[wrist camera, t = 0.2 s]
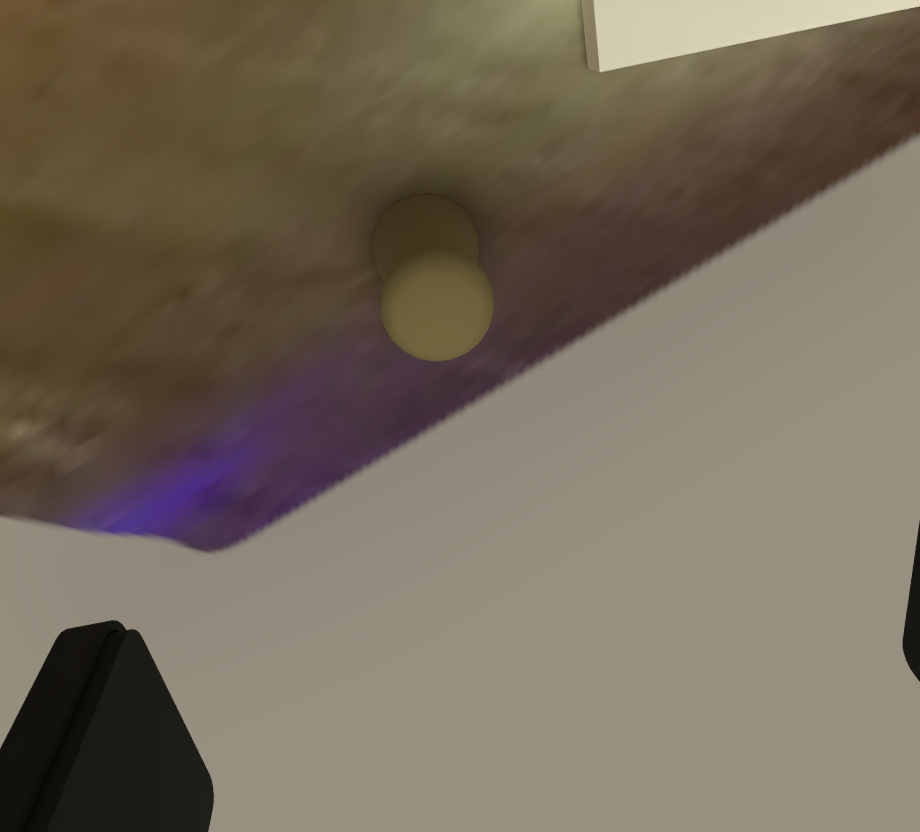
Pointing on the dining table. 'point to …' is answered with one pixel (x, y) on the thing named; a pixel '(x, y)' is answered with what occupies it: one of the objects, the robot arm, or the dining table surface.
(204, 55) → the dining table surface
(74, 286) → the dining table surface
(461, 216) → the cork
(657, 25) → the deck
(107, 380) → the dining table surface
